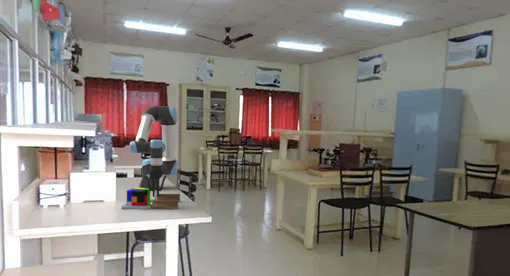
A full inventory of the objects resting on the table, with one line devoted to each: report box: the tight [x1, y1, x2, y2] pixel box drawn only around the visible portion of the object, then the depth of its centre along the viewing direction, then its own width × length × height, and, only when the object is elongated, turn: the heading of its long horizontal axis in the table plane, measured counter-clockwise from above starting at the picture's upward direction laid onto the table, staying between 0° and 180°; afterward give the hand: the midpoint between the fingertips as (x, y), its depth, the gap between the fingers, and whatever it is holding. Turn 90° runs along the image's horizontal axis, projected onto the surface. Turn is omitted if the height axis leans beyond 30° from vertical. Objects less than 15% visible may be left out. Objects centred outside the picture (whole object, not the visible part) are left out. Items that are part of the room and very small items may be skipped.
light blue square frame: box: [121, 198, 154, 210], centre depth 202 cm, size 18×17×2 cm
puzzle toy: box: [126, 187, 151, 206], centre depth 200 cm, size 10×10×10 cm
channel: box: [151, 193, 181, 210], centre depth 204 cm, size 18×15×5 cm
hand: (155, 201), depth 203 cm, fingers closed
